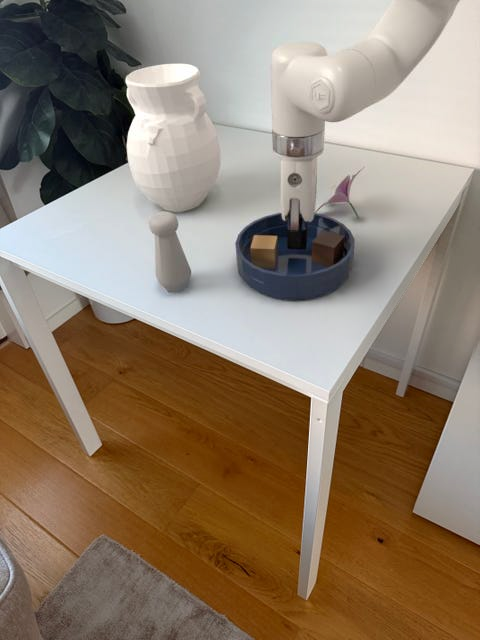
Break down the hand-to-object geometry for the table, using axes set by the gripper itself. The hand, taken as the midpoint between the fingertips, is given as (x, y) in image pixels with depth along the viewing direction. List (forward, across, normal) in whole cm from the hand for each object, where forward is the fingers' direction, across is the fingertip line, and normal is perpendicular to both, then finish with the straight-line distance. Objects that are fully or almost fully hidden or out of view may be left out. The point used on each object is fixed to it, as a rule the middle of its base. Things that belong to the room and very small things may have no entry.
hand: (297, 246), depth 82 cm
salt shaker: (+2, -10, +19) cm, 22 cm away
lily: (+2, +15, -7) cm, 17 cm away
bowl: (+2, -3, 0) cm, 4 cm away
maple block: (+2, -3, +5) cm, 6 cm away
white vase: (+2, +19, +26) cm, 33 cm away
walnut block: (+2, -1, -5) cm, 6 cm away
